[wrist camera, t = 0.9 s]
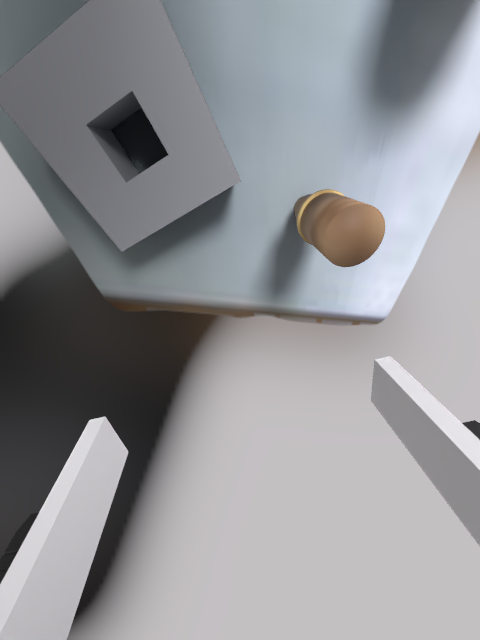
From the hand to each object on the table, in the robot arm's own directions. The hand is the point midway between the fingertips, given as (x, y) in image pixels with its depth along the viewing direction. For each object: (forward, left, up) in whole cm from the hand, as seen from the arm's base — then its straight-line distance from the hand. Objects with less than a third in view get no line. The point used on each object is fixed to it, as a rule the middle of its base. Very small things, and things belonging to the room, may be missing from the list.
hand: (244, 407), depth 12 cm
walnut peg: (-11, +1, -25) cm, 27 cm away
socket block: (+2, -13, -25) cm, 28 cm away
